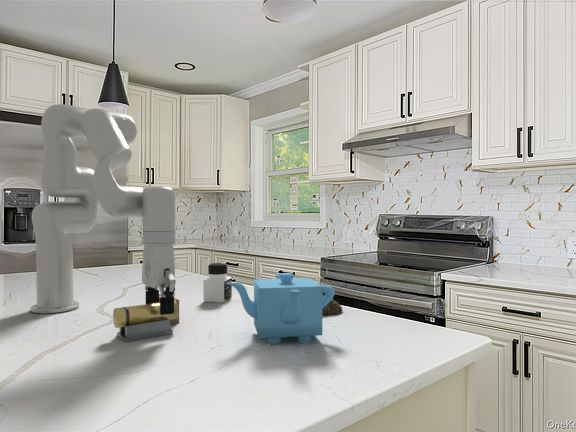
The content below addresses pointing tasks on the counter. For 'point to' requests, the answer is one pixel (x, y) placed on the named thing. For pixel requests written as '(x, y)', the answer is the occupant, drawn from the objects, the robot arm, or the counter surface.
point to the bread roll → (331, 308)
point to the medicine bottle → (217, 284)
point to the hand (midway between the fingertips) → (159, 310)
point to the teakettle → (286, 307)
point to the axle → (141, 314)
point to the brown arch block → (175, 321)
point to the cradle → (144, 330)
